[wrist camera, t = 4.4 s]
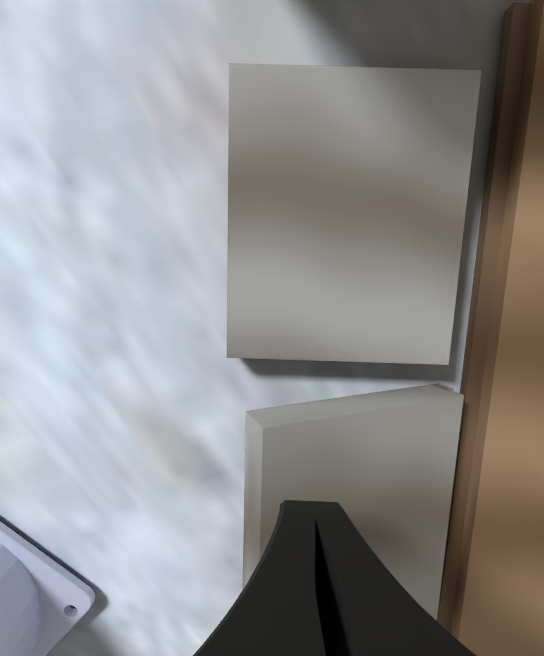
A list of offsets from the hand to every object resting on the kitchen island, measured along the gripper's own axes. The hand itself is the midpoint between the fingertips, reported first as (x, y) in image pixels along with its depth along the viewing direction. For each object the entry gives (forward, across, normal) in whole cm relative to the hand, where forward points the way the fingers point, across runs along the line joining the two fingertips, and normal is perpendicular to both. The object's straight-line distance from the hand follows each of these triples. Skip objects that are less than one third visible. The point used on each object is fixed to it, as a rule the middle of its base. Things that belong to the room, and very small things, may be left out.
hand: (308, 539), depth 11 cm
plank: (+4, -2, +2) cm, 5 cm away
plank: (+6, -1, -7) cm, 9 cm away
